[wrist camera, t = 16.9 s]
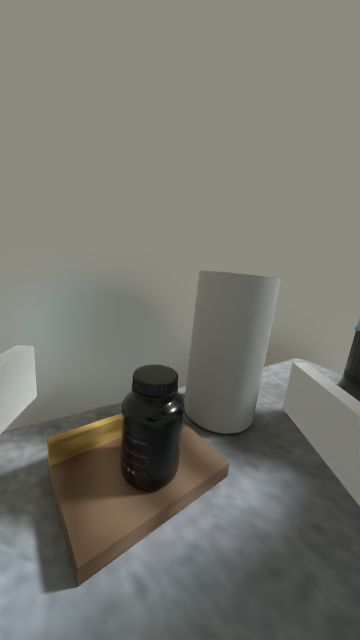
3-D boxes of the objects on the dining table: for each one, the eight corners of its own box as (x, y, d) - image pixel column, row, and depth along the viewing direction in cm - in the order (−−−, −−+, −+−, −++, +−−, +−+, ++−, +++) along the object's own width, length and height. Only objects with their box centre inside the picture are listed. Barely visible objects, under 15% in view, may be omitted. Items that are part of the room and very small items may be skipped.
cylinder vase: (219, 388, 51) (237, 273, 45) (267, 423, 41) (298, 280, 35) (170, 401, 44) (184, 268, 39) (213, 446, 34) (240, 274, 28)
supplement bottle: (147, 437, 32) (154, 355, 29) (189, 464, 28) (201, 373, 26) (106, 469, 26) (109, 372, 24) (151, 508, 23) (161, 398, 20)
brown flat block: (171, 422, 38) (174, 395, 37) (227, 476, 29) (233, 442, 28) (48, 474, 27) (47, 438, 26) (77, 586, 18) (77, 538, 17)
